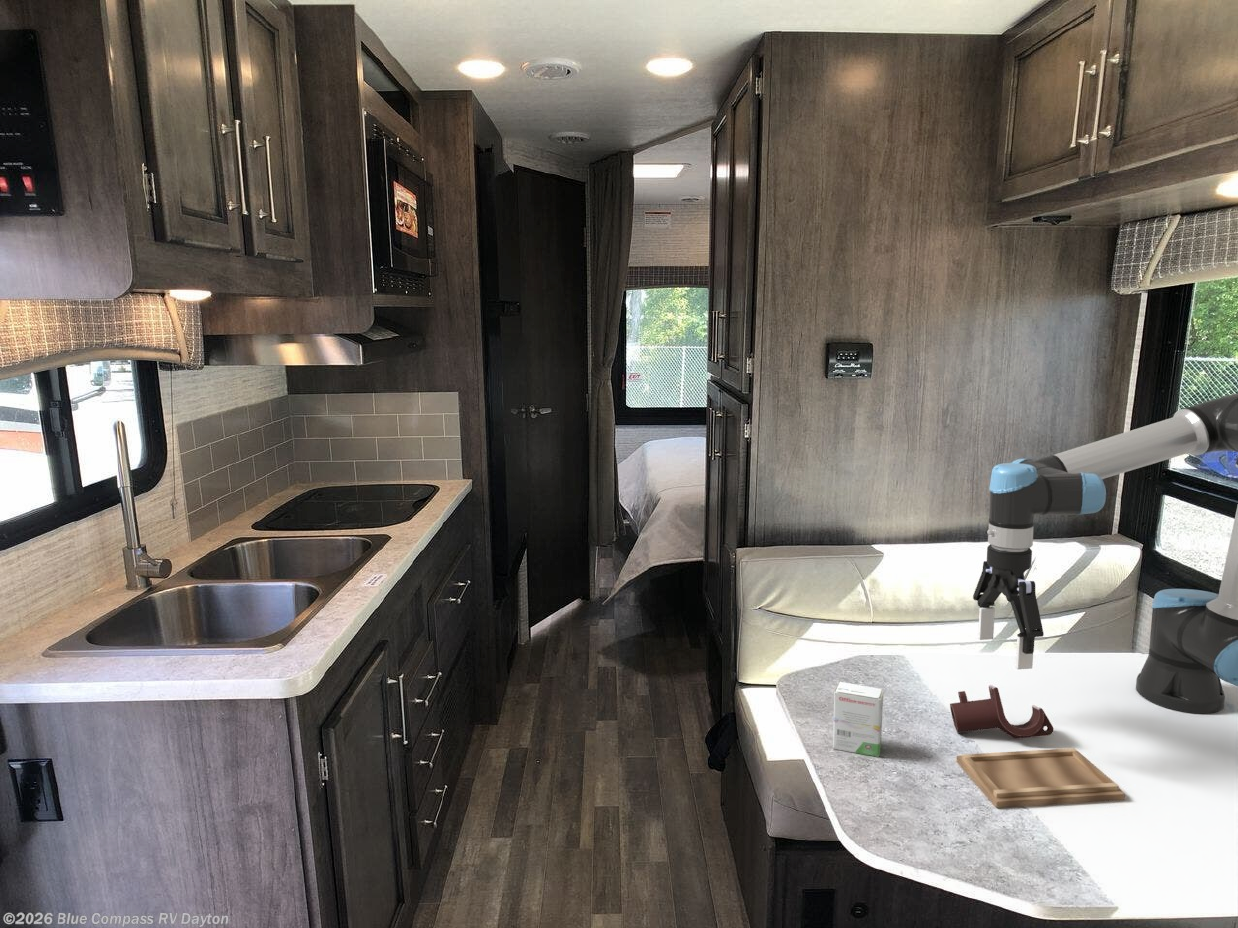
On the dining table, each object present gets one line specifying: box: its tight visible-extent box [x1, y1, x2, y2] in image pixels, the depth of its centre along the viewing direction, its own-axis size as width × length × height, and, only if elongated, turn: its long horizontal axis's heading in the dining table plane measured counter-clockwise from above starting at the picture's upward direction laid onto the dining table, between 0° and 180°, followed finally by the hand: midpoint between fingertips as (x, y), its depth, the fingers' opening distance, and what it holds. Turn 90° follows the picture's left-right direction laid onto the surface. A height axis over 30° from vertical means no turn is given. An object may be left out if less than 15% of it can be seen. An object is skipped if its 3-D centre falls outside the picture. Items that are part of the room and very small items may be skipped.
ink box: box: [832, 681, 884, 758], centre depth 148 cm, size 9×5×12 cm, turn 65°
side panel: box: [956, 747, 1126, 809], centre depth 136 cm, size 22×14×2 cm, turn 93°
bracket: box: [949, 684, 1055, 740], centre depth 151 cm, size 6×17×10 cm, turn 78°
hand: (1003, 652), depth 149 cm, fingers open, 13 cm apart
